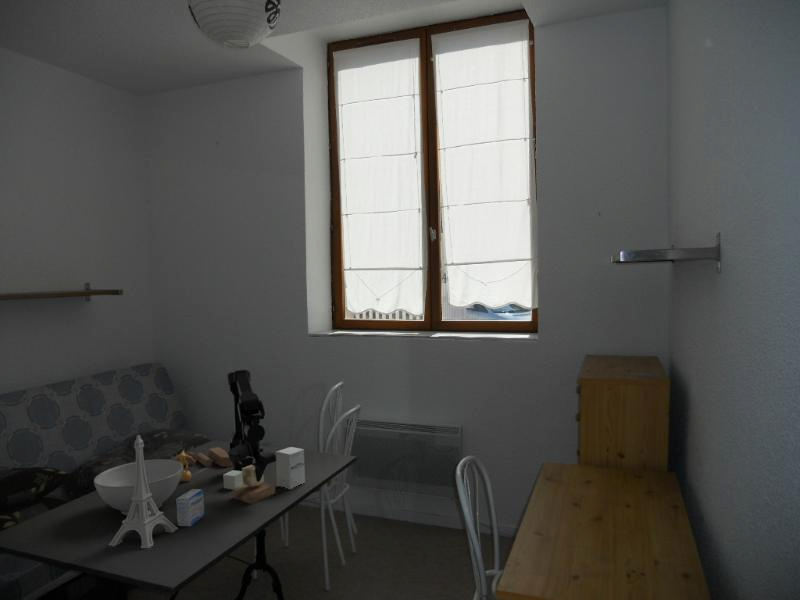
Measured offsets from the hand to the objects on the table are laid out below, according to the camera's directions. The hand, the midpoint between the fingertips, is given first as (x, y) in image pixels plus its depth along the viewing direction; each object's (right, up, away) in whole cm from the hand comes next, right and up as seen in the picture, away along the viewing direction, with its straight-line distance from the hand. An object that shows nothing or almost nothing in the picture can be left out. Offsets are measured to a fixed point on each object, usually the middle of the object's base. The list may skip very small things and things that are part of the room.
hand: (253, 480), depth 194 cm
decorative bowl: (-35, -7, -7) cm, 37 cm away
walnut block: (0, -6, 0) cm, 6 cm away
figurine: (-30, -6, +17) cm, 35 cm away
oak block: (0, -1, 0) cm, 1 cm away
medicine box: (-14, -7, -19) cm, 25 cm away
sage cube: (-10, -6, +10) cm, 15 cm away
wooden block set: (-29, -6, +36) cm, 47 cm away
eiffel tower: (-24, -8, -29) cm, 39 cm away
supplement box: (+11, -5, +9) cm, 15 cm away
